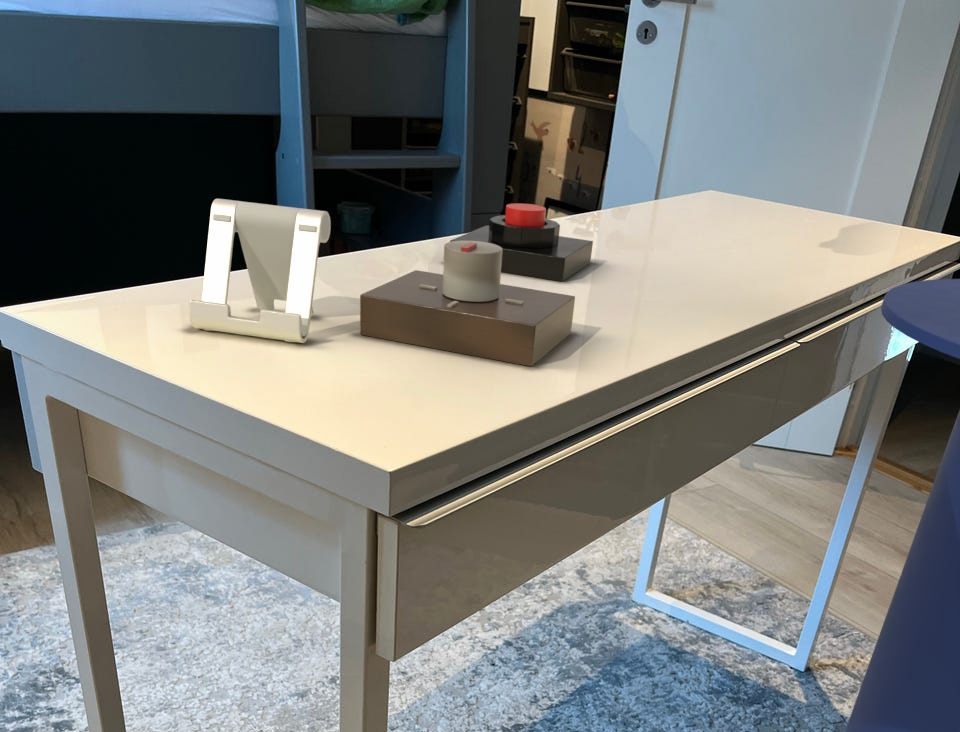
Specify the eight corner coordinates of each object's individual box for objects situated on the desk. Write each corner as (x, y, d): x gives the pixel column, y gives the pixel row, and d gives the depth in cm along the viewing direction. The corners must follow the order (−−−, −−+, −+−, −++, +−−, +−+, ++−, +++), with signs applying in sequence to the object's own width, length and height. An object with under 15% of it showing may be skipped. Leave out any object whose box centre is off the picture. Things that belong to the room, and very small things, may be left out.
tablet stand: (190, 331, 71) (179, 210, 66) (236, 306, 78) (228, 194, 73) (299, 346, 70) (295, 224, 65) (337, 320, 76) (335, 206, 72)
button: (549, 225, 97) (551, 206, 96) (537, 231, 94) (538, 212, 93) (512, 220, 98) (514, 201, 97) (499, 226, 95) (500, 207, 94)
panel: (571, 334, 78) (575, 293, 76) (531, 366, 70) (535, 322, 68) (414, 306, 81) (415, 267, 80) (359, 334, 73) (359, 292, 72)
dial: (453, 284, 76) (456, 233, 74) (506, 292, 75) (510, 241, 73) (433, 296, 72) (436, 243, 70) (488, 305, 71) (492, 251, 69)
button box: (590, 263, 100) (595, 222, 98) (562, 281, 93) (567, 237, 90) (484, 246, 104) (487, 207, 101) (448, 263, 96) (450, 220, 94)
